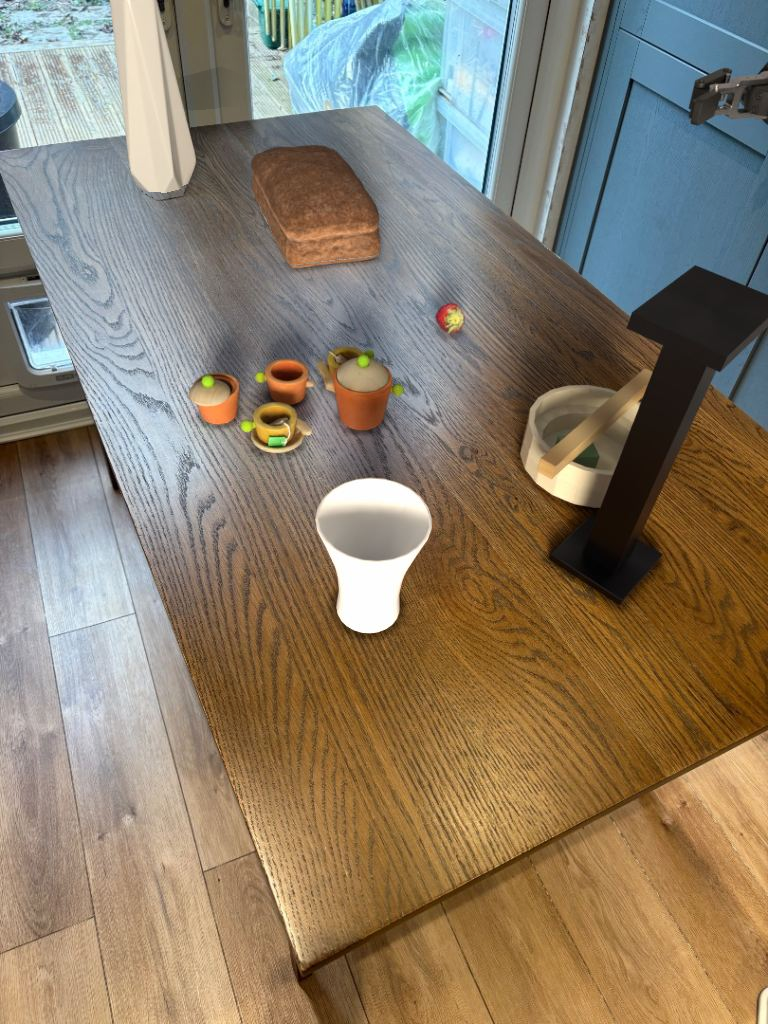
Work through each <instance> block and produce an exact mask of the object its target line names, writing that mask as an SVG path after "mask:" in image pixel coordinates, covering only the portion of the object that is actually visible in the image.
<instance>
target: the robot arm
mask: <svg viewBox="0 0 768 1024" xmlns="http://www.w3.org/2000/svg"><path fill="white" fill-rule="evenodd" d="M732 73H733V69H731V68H729V67H723V68H720V69H717V70H715V71H712V72H711V73H708V74H705V75H704V76H702V77H700V78H697V79H695V80H694V84H693V87H692V92H691V95H690V101H689V104H688V109H689V110H690V111H689V114H688V119H690V125H693V126H697V127H699V126H701V125H702V124H704V123H705V122H707V121H710V120H711V119H712V118H714V117H715V116H725V117H726V118H728V119H729V120H739V119H750V118H753V119H755V120H757V121H758V120H761V121H762V122H763V123H764V124H766V125H767V126H768V61H767V62H766V63H765V64H764V65H763V66H762V67H761V69H760V71H758V73H757V74H751V75H741V76H735V77H733V78H731V77H732ZM726 95H727V96H726ZM724 101H725V102H724ZM720 102H724V104H722V105H719V104H720ZM740 104H741V105H742V106H743V108H739V106H740Z"/></svg>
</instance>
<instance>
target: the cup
mask: <svg viewBox="0 0 768 1024" xmlns="http://www.w3.org/2000/svg"><path fill="white" fill-rule="evenodd" d="M314 521H315V525H316V530H317V531H316V532H317V533H318V535H319V537H320V539H321V542H322V543H323V545H324V547H325V549H326V551H327V553H328V555H329V558H330V559H331V561H332V564H333V566H334V569H335V572H336V576H337V584H338V586H337V587H338V592H337V593H338V594H337V599H336V608H335V609H336V613H337V615H338V617H339V619H340V621H341V622H342V623H343V624H344V625H345V626H346V627H347V628H350V629H351V630H353V631H355V632H359V633H363V634H364V633H366V634H372V633H373V634H375V633H379V632H381V631H385V630H387V629H388V628H389V627H391V626H392V625H393V624H394V623H395V622H396V620H398V616H399V615H400V608H401V606H400V603H401V602H400V592H401V589H402V583H403V580H404V577H405V575H406V573H407V571H408V570H409V569H410V566H411V565H412V563H413V562H414V560H415V559H416V557H417V556H418V554H419V553H420V551H421V550H422V549H423V547H424V545H425V544H426V543H427V541H428V540H429V538H430V535H431V533H432V529H433V528H432V527H433V517H432V514H431V511H430V509H429V506H428V504H427V503H426V501H424V499H423V498H422V497H421V496H420V495H419V494H418V493H417V492H416V491H414V490H413V489H412V488H411V487H408V486H406V485H405V484H403V483H400V482H398V481H394V480H390V479H386V478H380V477H379V478H378V477H367V478H366V477H363V478H356V479H353V480H349V481H346V482H342V483H341V484H339V485H338V486H336V487H334V488H332V489H330V491H329V492H328V493H327V494H326V495H325V496H323V498H322V499H321V501H320V503H319V504H318V506H317V508H316V513H315V519H314Z"/></svg>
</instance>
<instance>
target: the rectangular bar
mask: <svg viewBox="0 0 768 1024" xmlns="http://www.w3.org/2000/svg"><path fill="white" fill-rule="evenodd" d="M652 372H653V370H650V369H648V368H645V367H644V368H643V369H642V370H641V371H639V372H638V373H637V374H636V375H635V376H634V377H633V378H631V379H630V380H629V381H628V382H627V383H625V384H624V385H623V386H622V387H621V388H620V389H618V391H617V393H615V394H614V395H613V396H612V397H611V398H610V399H608V400H607V401H606V402H605V403H604V404H603V405H601V406H600V407H599V408H598V409H597V410H596V411H595V412H593V413H592V414H591V415H590V416H589V417H588V418H586V419H585V420H584V421H583V422H582V423H581V424H579V425H578V426H577V427H576V428H575V429H574V430H573V431H571V432H570V433H569V434H568V435H567V436H566V437H564V438H563V439H562V440H561V441H560V442H559V443H557V444H556V445H555V446H554V447H553V448H552V449H551V450H549V451H548V452H547V453H546V454H545V455H544V456H542V457H541V458H540V461H539V465H538V469H537V471H538V472H539V473H541V474H543V475H544V476H546V477H548V478H549V479H553V478H554V477H555V476H556V475H557V474H558V473H559V472H560V471H562V470H563V469H564V468H565V467H566V466H567V465H568V464H569V463H570V462H571V461H573V460H574V459H575V458H576V457H577V456H578V455H579V454H580V453H581V452H583V451H584V450H585V449H586V448H587V447H588V446H589V445H590V444H591V443H592V442H594V441H595V440H596V439H597V438H598V437H599V436H600V435H601V434H602V433H604V432H605V431H606V430H607V429H608V428H609V427H610V426H611V425H612V424H613V423H615V422H616V421H617V420H618V419H619V418H620V417H621V416H622V415H623V414H625V413H626V412H627V411H628V410H629V409H630V408H631V407H632V406H633V405H635V404H636V403H637V402H640V400H642V398H643V396H644V393H645V390H646V388H647V385H648V383H649V380H650V377H651V375H652Z"/></svg>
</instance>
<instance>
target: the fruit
mask: <svg viewBox="0 0 768 1024" xmlns="http://www.w3.org/2000/svg"><path fill="white" fill-rule="evenodd" d="M465 318H466V317H465V314H464V312H463V310H462V308H461V307H460V305H458V304H457V303H453V302H448V303H446V304H444V305H442V306H441V307H439V309H438V310H437V312H436V314H435V321H436V323H437V324H438V326H439V328H440V329H441V330H443V331H444V332H445V333H446V334H447V335H449V334H455V333H458V332H459V331H461V330H462V329H463V328H464V325H465V322H466V319H465Z"/></svg>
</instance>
